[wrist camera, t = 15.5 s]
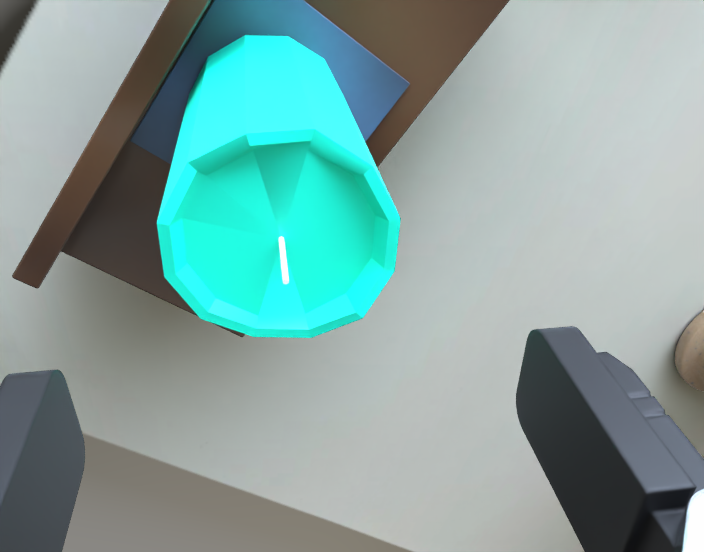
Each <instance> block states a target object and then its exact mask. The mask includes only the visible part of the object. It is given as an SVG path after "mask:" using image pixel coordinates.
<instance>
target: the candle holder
mask: <svg viewBox="0 0 704 552" xmlns="http://www.w3.org/2000/svg"><path fill="white" fill-rule="evenodd" d="M675 365H676V368H677V370H678V372H679V374H680V376H681V377H682V378H683V379H684V380H685V381H686V382H687V383H688V384H689V385H690V386H692V387H693V388H695V389H698V390H700V391H704V310H703V311H702V312H701V313H700V314H699V315H698V316H696V317H695V318H694V319H693V321H692V322H691V323H690V324H689V325H688V326H687V328H686V329H685V330H684V332H683V333H682V335H681V337H680V339H679V341H678V344H677V347H676V351H675Z"/></svg>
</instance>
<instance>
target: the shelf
mask: <svg viewBox="0 0 704 552" xmlns="http://www.w3.org/2000/svg"><path fill="white" fill-rule="evenodd" d="M508 2H509V0H169V2H168V4H167V6H166V7H165V9H164V11H163V13H162V14H161V16H160V18H159V20H158V21H157V23H156V25H155V27H154V28H153V30H152V32H151V34H150V35H149V37H148V39H147V41H146V42H145V44H144V46H143V48H142V49H141V51H140V53H139V55H138V56H137V58H136V60H135V62H134V63H133V65H132V67H131V69H130V70H129V72H128V74H127V76H126V77H125V79H124V81H123V83H122V84H121V86H120V88H119V90H118V91H117V93H116V95H115V97H114V98H113V100H112V102H111V104H110V105H109V107H108V109H107V111H106V112H105V114H104V116H103V118H102V119H101V121H100V123H99V125H98V126H97V128H96V130H95V132H94V133H93V135H92V137H91V139H90V140H89V142H88V144H87V146H86V147H85V149H84V151H83V153H82V154H81V156H80V158H79V160H78V161H77V163H76V165H75V167H74V168H73V170H72V172H71V174H70V175H69V177H68V179H67V181H66V182H65V184H64V186H63V188H62V189H61V191H60V193H59V195H58V196H57V198H56V200H55V202H54V203H53V205H52V207H51V209H50V210H49V212H48V214H47V216H46V217H45V219H44V221H43V223H42V224H41V226H40V228H39V230H38V231H37V233H36V235H35V237H34V238H33V240H32V242H31V244H30V245H29V247H28V249H27V251H26V252H25V254H24V256H23V258H22V259H21V261H20V263H19V265H18V266H17V268H16V270H15V272H14V273H13V275H12V277H13V278H14V279H16V280H19V281H21V282H23V283H25V284H28V285H30V286H32V287H35V288H39V287H40V285H41V284H42V282H43V280H44V279H45V277H46V275H47V274H48V272H49V270H50V268H51V267H52V265H53V263H54V262H55V260H56V258H57V257H58V255H59V253H60V252H61V251H62V252H64V253H66V254H68V255H70V256H72V257H74V258H77V259H79V260H81V261H83V262H85V263H87V264H89V265H91V266H93V267H95V268H98V269H100V270H102V271H104V272H106V273H108V274H110V275H112V276H114V277H116V278H119V279H121V280H123V281H125V282H127V283H129V284H131V285H133V286H135V287H137V288H140V289H142V290H144V291H146V292H148V293H150V294H152V295H154V296H156V297H158V298H161V299H163V300H165V301H167V302H169V303H171V304H173V305H175V306H177V307H179V308H182V309H184V310H186V311H188V312H190V313H192V314H194V315H196V316H198V315H197V314H196V313H195V312H194V311H193V309H192V308H191V307H190V306H189V305H188V304H187V303H186V301H185V300H184V299H183V298H182V297H181V296H180V294H179V293H178V292H177V291H176V290H175V289H174V288H173V286H172V285H171V284H170V283H169V282H168V281H167V280H166V278H165V277H164V272H163V265H162V257H161V250H160V243H159V236H158V229H157V219H158V215H159V211H160V207H161V204H162V200H163V196H164V192H165V188H166V184H167V180H168V176H169V172H170V168H171V164H172V160H173V156H174V152H175V148H176V144H177V140H178V136H179V132H180V128H181V124H182V120H183V117H184V113H185V109H186V105H187V101H188V97H189V93H190V91H191V89H192V87H193V85H194V83H195V81H196V79H197V77H198V76H199V74H200V72H201V70H202V68H203V66H204V64H205V62H206V60H207V58H208V56H210V55H212V54H214V53H215V52H217V51H219V50H220V49H222V48H224V47H226V46H227V45H229V44H231V43H232V42H234V41H236V40H237V39H239V38H241V37H243V36H244V35H258V36H289V37H290V38H292V39H293V40H295V41H296V42H298V43H300V44H301V45H303V46H304V47H306V48H308V49H309V50H311V51H312V52H314V53H316V54H317V55H319V56H320V57H322V58H323V59H325V61H326V63H327V65H328V67H329V69H330V71H331V73H332V75H333V77H334V79H335V80H336V82H337V84H338V86H339V88H340V90H341V92H342V94H343V96H344V98H345V100H346V102H347V104H348V107H349V109H350V111H351V113H352V115H353V117H354V119H355V122H356V124H357V126H358V128H359V130H360V132H361V135H362V137H363V139H364V141H365V143H366V145H367V147H368V150H369V152H370V154H371V156H372V158H373V160H374V162H375V165H376V167H378V166H379V164H380V163H381V162H382V161H383V159H384V158H385V157H386V156H387V154H388V153H389V152H390V151H391V149H392V148H393V147H394V146H395V144H396V143H397V142H398V140H399V139H400V138H401V137H402V135H403V134H404V133H405V132H406V130H407V129H408V128H409V127H410V125H411V124H412V123H413V122H414V120H415V119H416V118H417V116H418V115H419V114H420V113H421V111H422V110H423V109H424V108H425V106H426V105H427V104H428V103H429V101H430V100H431V99H432V98H433V96H434V95H435V94H436V92H437V91H438V90H439V89H440V87H441V86H442V85H443V84H444V82H445V81H446V80H447V79H448V77H449V76H450V75H451V74H452V72H453V71H454V70H455V68H456V67H457V66H458V65H459V63H460V62H461V61H462V60H463V58H464V57H465V56H466V55H467V53H468V52H469V51H470V50H471V48H472V47H473V46H474V44H475V43H476V42H477V41H478V39H479V38H480V37H481V36H482V34H483V33H484V32H485V31H486V29H487V28H488V27H489V26H490V24H491V23H492V22H493V21H494V19H495V18H496V17H497V15H498V14H499V13H500V12H501V10H502V9H503V8H504V7H505V5H506V4H507V3H508ZM198 317H199V316H198ZM213 324H214V323H213ZM215 325H217V324H215ZM217 326H219V327H222V328H224V329H226V330H228V331H230V332H232V333H234V334H236V335H238V336H240V337H243V336H244V335H245V334H244V333H241V332H238V331H235V330H232V329H229V328H226V327H223V326H220V325H217Z"/></svg>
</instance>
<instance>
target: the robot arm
mask: <svg viewBox="0 0 704 552" xmlns="http://www.w3.org/2000/svg"><path fill="white" fill-rule="evenodd" d="M516 408H517V414H518V418H519V422H520V424H521V427H522V429H523V431H524V433H525V435H526V437H527V439H528V441H529V443H530V445H531V447H532V449H533V451H534V453H535V455H536V457H537V459H538V461H539V463H540V465H541V466H542V468H543V470H544V472H545V474H546V476H547V478H548V480H549V482H550V484H551V486H552V488H553V490H554V492H555V494H556V496H557V498H558V500H559V502H560V504H561V506H562V508H563V510H564V512H565V514H566V516H567V517H568V519H569V521H570V523H571V525H572V527H573V529H574V531H575V533H576V535H577V537H578V539H579V541H580V543H581V545H582V547H583V549H584V551H585V552H704V459H703V458H702V456H701V455H700V454H699V453H698V451H697V450H696V449H695V447H694V446H693V445H692V444H691V442H690V441H689V440H688V439H687V437H686V436H685V435H684V434H683V432H682V431H681V430H680V429H679V427H678V426H677V425H676V424H675V422H674V421H673V420H672V419H671V417H670V416H669V415H665V410H664V409H663V407H662V406H661V405H660V404H659V402H658V401H657V400H656V399H655V397H654V396H653V397H651V395H650V391H649V390H648V389H647V387H646V386H645V385H644V383H643V382H642V381H641V380H640V378H639V377H638V376H637V375H636V373H635V372H634V371H633V370H632V369H631V368H629V367H628V366H626V365H625V364H623V363H622V362H621V361H619V360H618V359H616V358H615V357H613V356H612V355H610V354H609V353H607V352H600V353H596V351H595V350H594V349H593V347H592V346H591V345H590V343H589V342H588V341H587V339H586V338H585V337H584V335H583V334H582V333H581V331H580V330H579V329H578V328H576V327H573V326H570V327H559V328H547V329H536V330H532V331H531V332H530V333H529V335H528V338H527V342H526V347H525V352H524V357H523V362H522V367H521V372H520V377H519V382H518V387H517V393H516ZM84 463H85V446H84V438H83V434H82V431H81V428H80V424H79V421H78V418H77V415H76V412H75V409H74V406H73V402H72V399H71V396H70V393H69V390H68V387H67V383H66V380H65V378H64V375H63V374H62V372H61V371H59V370H48V371H37V372H25V373H14V374H9V375H7V376H6V377H5V378H4V380H3V382H2V384H1V386H0V552H62V549H63V545H64V541H65V538H66V534H67V531H68V527H69V523H70V520H71V516H72V512H73V509H74V505H75V501H76V497H77V494H78V490H79V486H80V483H81V479H82V475H83V471H84Z"/></svg>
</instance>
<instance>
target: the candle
mask: <svg viewBox="0 0 704 552" xmlns="http://www.w3.org/2000/svg"><path fill="white" fill-rule="evenodd" d="M400 221H401V218H400V216H399V214H398V212H397V210H396V208H395V205H394V203H393V201H392V199H391V197H390V195H389V192H388V190H387V188H386V186H385V184H384V182H383V180H382V177H381V175H380V173H379V171H378V169H377V167H376V165H375V162H374V160H373V158H372V156H371V154H370V152H369V150H368V147H367V145H366V143H365V141H364V139H363V137H362V135H361V132H360V130H359V128H358V126H357V124H356V122H355V119H354V117H353V115H352V113H351V111H350V109H349V107H348V104H347V102H346V100H345V98H344V96H343V94H342V92H341V90H340V88H339V86H338V84H337V82H336V80H335V79H334V77H333V75H332V73H331V71H330V69H329V67H328V65H327V63H326V61H325V59H323V58H322V57H320V56H319V55H317V54H316V53H314V52H312V51H311V50H309V49H308V48H306V47H304V46H303V45H301V44H300V43H298V42H296V41H295V40H293V39H292V38H290V37H289V36H258V35H244V36H243V37H241V38H239V39H237V40H236V41H234V42H232V43H231V44H229V45H227V46H226V47H224V48H222V49H220V50H219V51H217V52H215V53H214V54H212V55H210V56H208V58H207V60H206V62H205V64H204V66H203V68H202V70H201V72H200V74H199V76H198V77H197V79H196V81H195V83H194V85H193V87H192V89H191V91H190V93H189V97H188V101H187V105H186V109H185V113H184V117H183V120H182V124H181V128H180V132H179V136H178V140H177V144H176V148H175V152H174V156H173V160H172V164H171V168H170V172H169V176H168V180H167V184H166V188H165V192H164V196H163V200H162V204H161V207H160V211H159V215H158V219H157V229H158V236H159V243H160V250H161V257H162V265H163V272H164V277H165V278H166V280H167V281H168V282H169V283H170V284H171V285H172V286H173V288H174V289H175V290H176V291H177V292H178V293H179V294H180V296H181V297H182V298H183V299H184V300H185V301H186V303H187V304H188V305H189V306H190V307H191V308H192V309H193V311H194V312H195V313H196V314H197V315H198V316H199V317H200V319H203V320H206V321H208V322H211V323H214V324H217V325H220V326H223V327H226V328H229V329H232V330H235V331H238V332H241V333H244V334H247V335H250V336H253V337H294V338H312V337H315V336H317V335H320V334H322V333H325V332H328V331H330V330H333V329H336V328H338V327H341V326H344V325H346V324H349V323H352V322H354V321H357V320H360V319H362V318H363V317H364V316H365V314H366V313H367V311H368V310H369V308H370V307H371V305H372V304H373V303H374V301H375V300H376V298H377V297H378V295H379V294H380V292H381V291H382V289H383V288H384V286H385V285H386V283H387V282H388V280H389V279H390V277H391V276H392V274H393V273H394V271H395V263H396V255H397V246H398V238H399V229H400Z"/></svg>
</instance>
